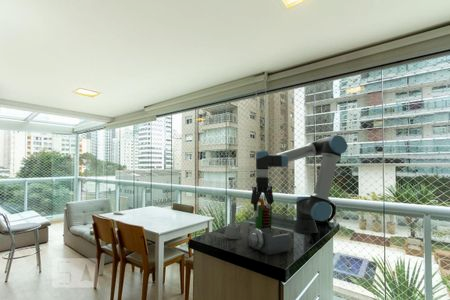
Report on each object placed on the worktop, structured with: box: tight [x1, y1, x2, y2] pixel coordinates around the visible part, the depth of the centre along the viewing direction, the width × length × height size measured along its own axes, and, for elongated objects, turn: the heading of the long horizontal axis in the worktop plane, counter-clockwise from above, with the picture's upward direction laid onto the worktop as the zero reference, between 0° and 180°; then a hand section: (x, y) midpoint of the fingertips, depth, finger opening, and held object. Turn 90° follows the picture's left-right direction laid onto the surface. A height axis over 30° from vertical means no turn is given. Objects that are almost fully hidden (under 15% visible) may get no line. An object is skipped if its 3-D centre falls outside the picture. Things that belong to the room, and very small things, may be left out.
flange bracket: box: [247, 227, 291, 256], centre depth 121 cm, size 18×16×10 cm
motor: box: [254, 197, 273, 234], centre depth 138 cm, size 10×9×20 cm
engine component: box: [224, 201, 242, 240], centre depth 142 cm, size 11×20×10 cm
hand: (262, 215), depth 138 cm, fingers closed on motor, 8 cm apart
